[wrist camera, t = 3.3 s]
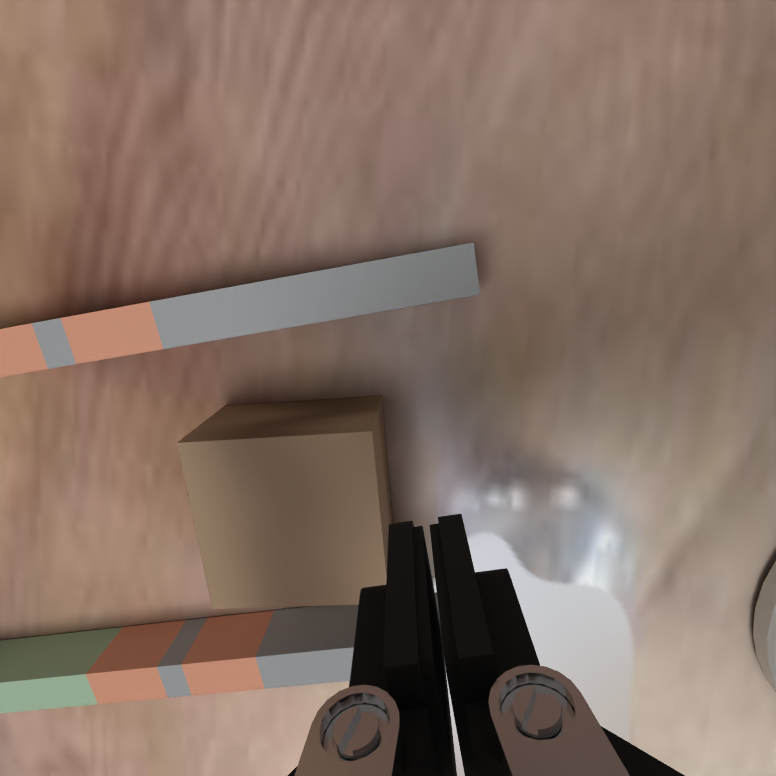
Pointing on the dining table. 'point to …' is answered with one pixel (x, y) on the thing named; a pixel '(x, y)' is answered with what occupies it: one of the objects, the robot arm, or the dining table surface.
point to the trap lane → (224, 633)
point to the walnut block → (290, 501)
